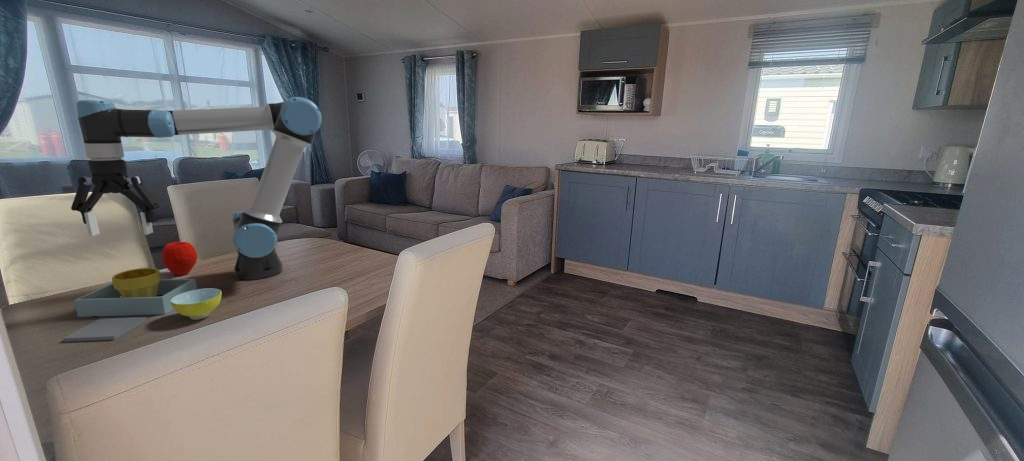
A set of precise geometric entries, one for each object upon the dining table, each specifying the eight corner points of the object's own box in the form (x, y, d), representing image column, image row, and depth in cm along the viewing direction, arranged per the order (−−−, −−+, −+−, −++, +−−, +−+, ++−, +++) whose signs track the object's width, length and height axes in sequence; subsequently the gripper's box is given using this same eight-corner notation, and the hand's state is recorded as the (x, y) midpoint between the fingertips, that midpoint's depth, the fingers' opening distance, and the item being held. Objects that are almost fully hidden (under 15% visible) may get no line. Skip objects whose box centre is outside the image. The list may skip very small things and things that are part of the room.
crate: (197, 293, 132) (195, 278, 131) (165, 314, 117) (162, 297, 116) (121, 295, 129) (117, 280, 128) (77, 317, 114) (73, 300, 113)
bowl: (167, 328, 109) (163, 306, 108) (181, 311, 119) (177, 291, 118) (219, 321, 114) (216, 300, 112) (228, 305, 124) (225, 286, 122)
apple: (206, 270, 154) (202, 238, 151) (181, 279, 144) (176, 245, 141) (183, 268, 155) (178, 236, 152) (157, 277, 146) (151, 243, 143)
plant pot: (137, 313, 117) (131, 280, 115) (108, 309, 119) (101, 277, 117) (173, 299, 127) (168, 269, 125) (146, 296, 129) (140, 266, 127)
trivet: (146, 320, 113) (145, 317, 113) (114, 339, 103) (113, 336, 103) (100, 322, 112) (100, 318, 112) (63, 342, 101) (63, 338, 101)
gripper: (166, 158, 120) (178, 230, 125) (65, 158, 116) (82, 232, 121) (148, 160, 113) (162, 236, 118) (40, 159, 109) (59, 238, 114)
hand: (122, 234), depth 120 cm, fingers open, 13 cm apart
